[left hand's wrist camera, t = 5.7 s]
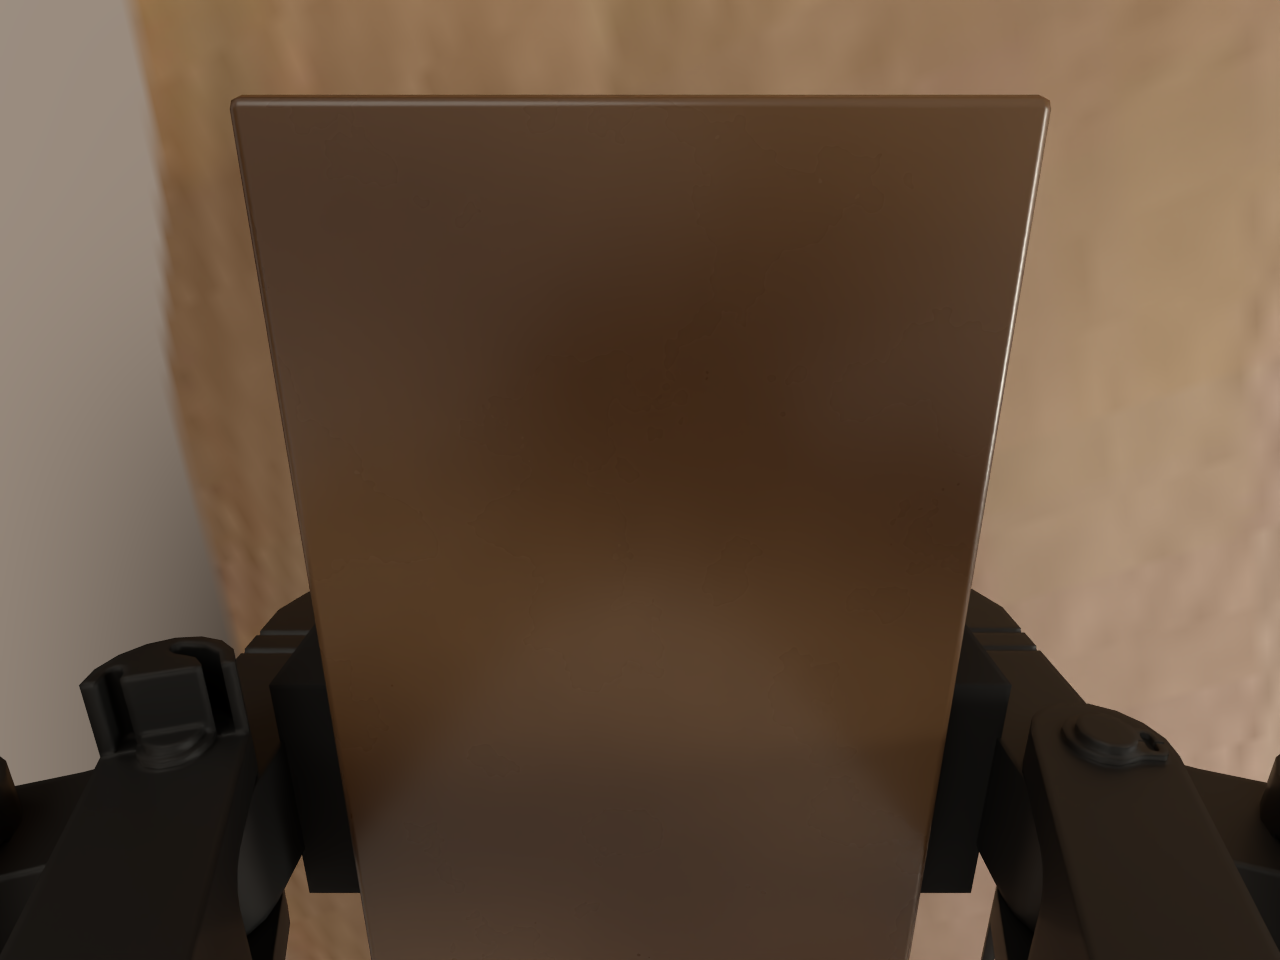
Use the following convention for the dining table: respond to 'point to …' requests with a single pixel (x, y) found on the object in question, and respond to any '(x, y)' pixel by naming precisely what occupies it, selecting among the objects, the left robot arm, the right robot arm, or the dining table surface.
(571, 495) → the bar
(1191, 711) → the dining table surface
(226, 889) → the left robot arm
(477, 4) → the dining table surface
